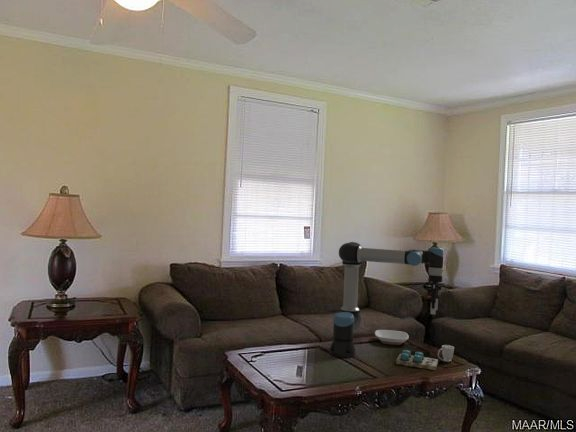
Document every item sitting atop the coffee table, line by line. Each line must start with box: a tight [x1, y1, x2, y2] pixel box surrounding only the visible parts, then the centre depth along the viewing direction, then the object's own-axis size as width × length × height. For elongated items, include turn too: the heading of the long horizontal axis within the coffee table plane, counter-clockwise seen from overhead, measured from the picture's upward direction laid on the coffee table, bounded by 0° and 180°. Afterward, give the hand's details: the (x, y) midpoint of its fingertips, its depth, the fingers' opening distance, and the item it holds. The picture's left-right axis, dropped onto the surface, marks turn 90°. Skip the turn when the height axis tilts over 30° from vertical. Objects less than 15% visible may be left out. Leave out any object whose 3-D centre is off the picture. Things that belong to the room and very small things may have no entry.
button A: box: [400, 352, 409, 361], centre depth 262 cm, size 4×4×3 cm
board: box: [395, 353, 439, 371], centre depth 263 cm, size 21×14×2 cm, turn 67°
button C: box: [413, 354, 422, 363], centre depth 260 cm, size 4×4×3 cm
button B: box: [402, 349, 411, 357], centre depth 269 cm, size 4×4×3 cm
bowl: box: [374, 329, 410, 346], centre depth 305 cm, size 22×22×5 cm
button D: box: [414, 351, 424, 359], centre depth 266 cm, size 4×4×3 cm
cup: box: [437, 344, 455, 363], centre depth 270 cm, size 7×10×8 cm
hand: (434, 312), depth 269 cm, fingers open, 13 cm apart
